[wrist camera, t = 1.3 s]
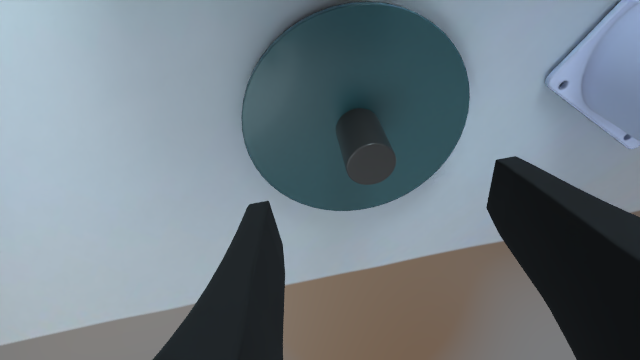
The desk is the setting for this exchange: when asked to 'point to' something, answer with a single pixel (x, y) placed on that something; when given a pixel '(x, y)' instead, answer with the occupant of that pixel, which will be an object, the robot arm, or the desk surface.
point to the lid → (355, 106)
